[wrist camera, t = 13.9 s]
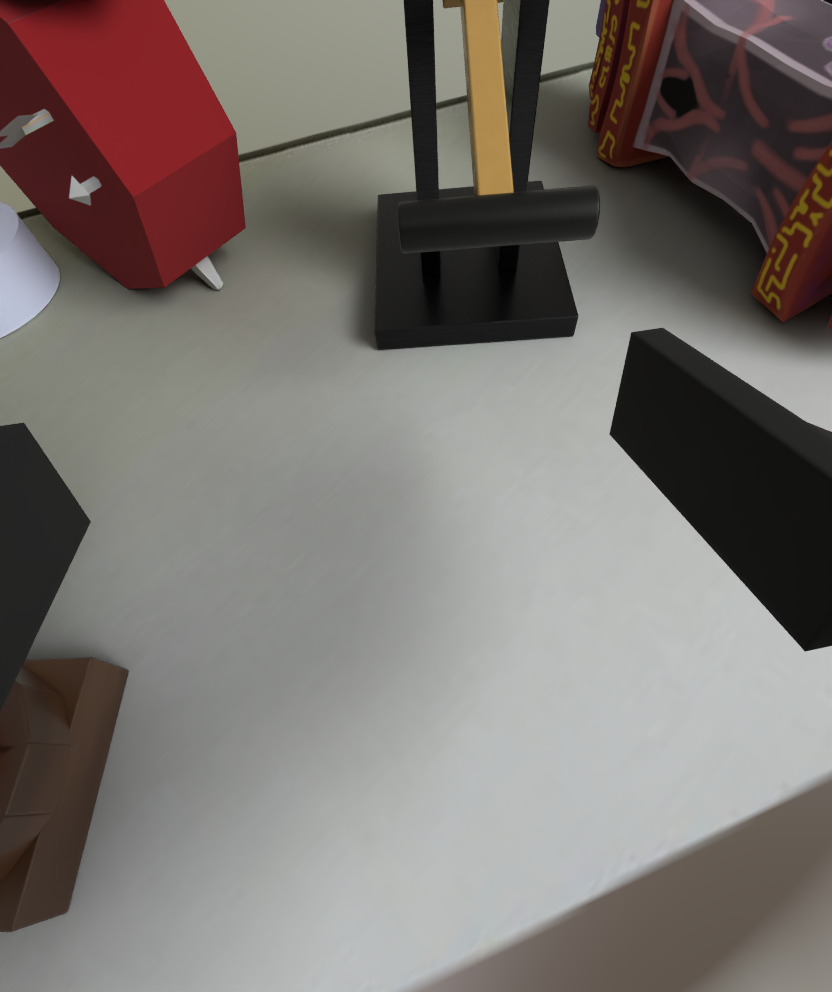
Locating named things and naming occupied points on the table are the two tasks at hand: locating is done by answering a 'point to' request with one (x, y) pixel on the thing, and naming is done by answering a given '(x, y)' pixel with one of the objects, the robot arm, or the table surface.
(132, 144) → the alarm clock
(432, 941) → the table surface
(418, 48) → the switch bracket
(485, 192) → the light lever
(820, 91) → the red patterned flared cylinder
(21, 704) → the switch block
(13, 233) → the tape dispenser
